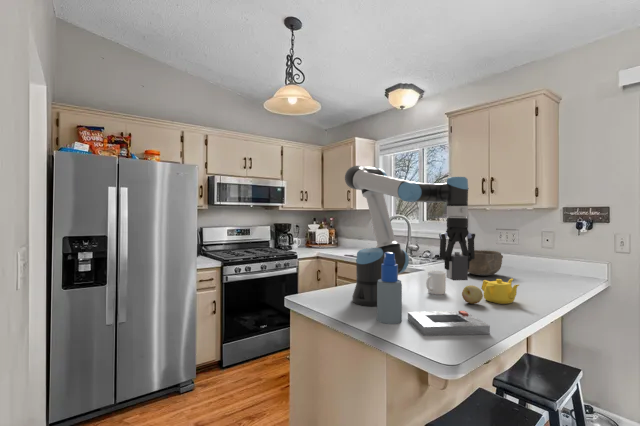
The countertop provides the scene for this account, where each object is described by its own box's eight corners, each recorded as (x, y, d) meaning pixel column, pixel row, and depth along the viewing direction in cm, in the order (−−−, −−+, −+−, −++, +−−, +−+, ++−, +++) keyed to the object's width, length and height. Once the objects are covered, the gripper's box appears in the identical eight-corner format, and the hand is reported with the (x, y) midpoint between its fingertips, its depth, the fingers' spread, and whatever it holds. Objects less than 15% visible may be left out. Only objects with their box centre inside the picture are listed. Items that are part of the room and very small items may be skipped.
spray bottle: (380, 324, 118) (380, 254, 118) (374, 316, 127) (374, 251, 127) (405, 323, 119) (405, 253, 119) (397, 315, 128) (397, 250, 128)
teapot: (520, 307, 140) (520, 283, 140) (484, 304, 145) (485, 281, 144) (512, 298, 153) (513, 277, 153) (480, 296, 158) (480, 275, 157)
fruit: (459, 301, 148) (459, 283, 148) (478, 301, 148) (478, 283, 148) (466, 306, 141) (466, 287, 141) (486, 306, 141) (486, 287, 141)
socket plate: (424, 335, 107) (424, 324, 107) (407, 319, 123) (407, 310, 123) (489, 334, 109) (489, 323, 109) (465, 318, 125) (465, 309, 125)
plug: (453, 280, 124) (453, 253, 124) (446, 277, 130) (446, 251, 130) (467, 280, 125) (467, 253, 125) (460, 277, 130) (460, 251, 130)
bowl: (504, 274, 214) (504, 250, 214) (501, 280, 193) (501, 254, 193) (464, 270, 227) (464, 248, 227) (457, 276, 206) (457, 252, 206)
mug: (433, 297, 156) (434, 275, 156) (419, 293, 163) (419, 272, 163) (449, 293, 163) (449, 272, 163) (434, 290, 170) (434, 269, 170)
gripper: (438, 217, 122) (438, 280, 123) (485, 217, 124) (485, 279, 124) (429, 217, 130) (429, 276, 130) (474, 217, 132) (474, 275, 132)
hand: (456, 277), depth 127 cm, fingers closed on plug, 5 cm apart
